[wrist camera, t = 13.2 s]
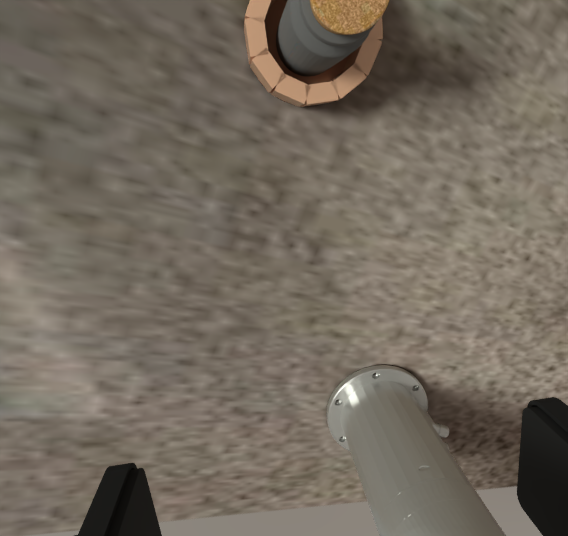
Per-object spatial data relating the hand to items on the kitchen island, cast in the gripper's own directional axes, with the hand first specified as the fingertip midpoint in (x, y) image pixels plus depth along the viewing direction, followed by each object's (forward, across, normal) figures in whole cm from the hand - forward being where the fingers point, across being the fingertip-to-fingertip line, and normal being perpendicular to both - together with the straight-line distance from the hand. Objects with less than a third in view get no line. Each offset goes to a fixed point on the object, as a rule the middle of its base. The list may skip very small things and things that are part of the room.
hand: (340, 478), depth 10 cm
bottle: (+33, -6, -16) cm, 37 cm away
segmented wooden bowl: (+34, -6, -16) cm, 38 cm away
